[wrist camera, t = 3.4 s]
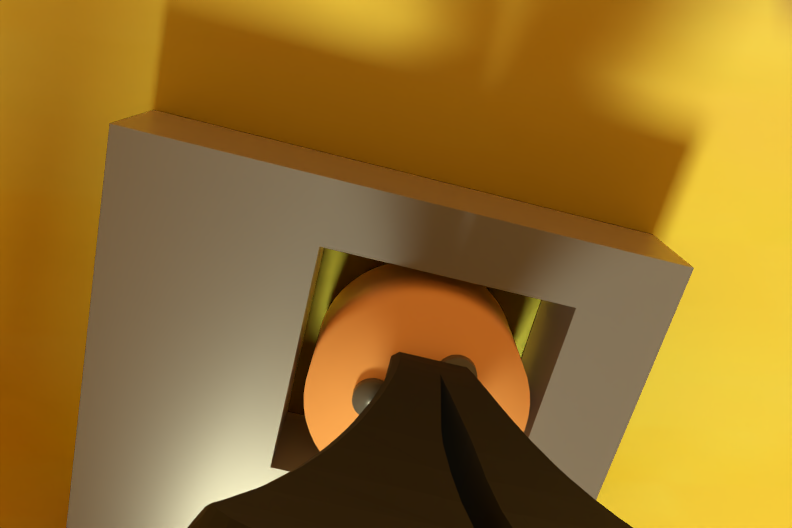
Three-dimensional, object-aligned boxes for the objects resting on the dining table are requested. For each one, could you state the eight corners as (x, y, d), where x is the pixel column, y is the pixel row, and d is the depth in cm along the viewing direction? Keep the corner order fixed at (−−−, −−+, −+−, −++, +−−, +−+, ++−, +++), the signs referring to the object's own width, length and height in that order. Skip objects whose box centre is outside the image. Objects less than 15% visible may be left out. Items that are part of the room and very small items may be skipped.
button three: (480, 452, 15) (493, 525, 12) (300, 412, 14) (281, 481, 12) (537, 286, 13) (563, 336, 11) (341, 239, 13) (328, 280, 11)
